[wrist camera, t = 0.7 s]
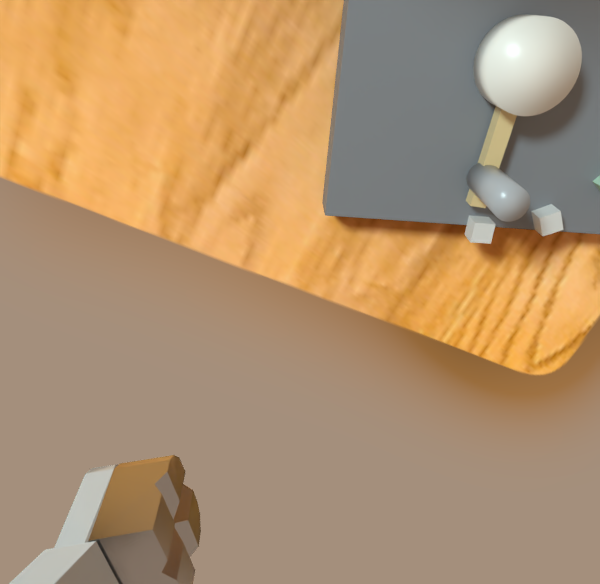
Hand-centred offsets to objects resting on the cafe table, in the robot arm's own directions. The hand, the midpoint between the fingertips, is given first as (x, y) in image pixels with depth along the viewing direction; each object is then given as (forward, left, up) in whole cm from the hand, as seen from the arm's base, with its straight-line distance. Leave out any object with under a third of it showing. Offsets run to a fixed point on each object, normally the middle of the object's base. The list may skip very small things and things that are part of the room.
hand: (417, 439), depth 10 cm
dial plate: (-4, +14, -37) cm, 40 cm away
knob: (0, +13, -34) cm, 37 cm away
